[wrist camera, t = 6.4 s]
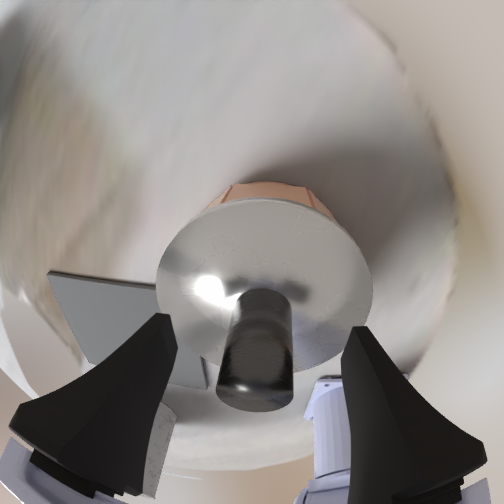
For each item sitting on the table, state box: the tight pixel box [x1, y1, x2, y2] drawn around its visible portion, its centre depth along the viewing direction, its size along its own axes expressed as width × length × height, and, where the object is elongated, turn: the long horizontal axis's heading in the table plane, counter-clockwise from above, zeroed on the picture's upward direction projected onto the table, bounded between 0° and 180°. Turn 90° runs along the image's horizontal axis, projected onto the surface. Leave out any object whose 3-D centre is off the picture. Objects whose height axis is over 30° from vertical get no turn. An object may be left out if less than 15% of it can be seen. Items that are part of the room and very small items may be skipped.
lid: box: [156, 197, 373, 412], centre depth 10 cm, size 10×10×5 cm
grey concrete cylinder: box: [140, 402, 177, 499], centre depth 23 cm, size 10×10×12 cm
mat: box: [46, 272, 208, 390], centre depth 21 cm, size 14×12×1 cm
